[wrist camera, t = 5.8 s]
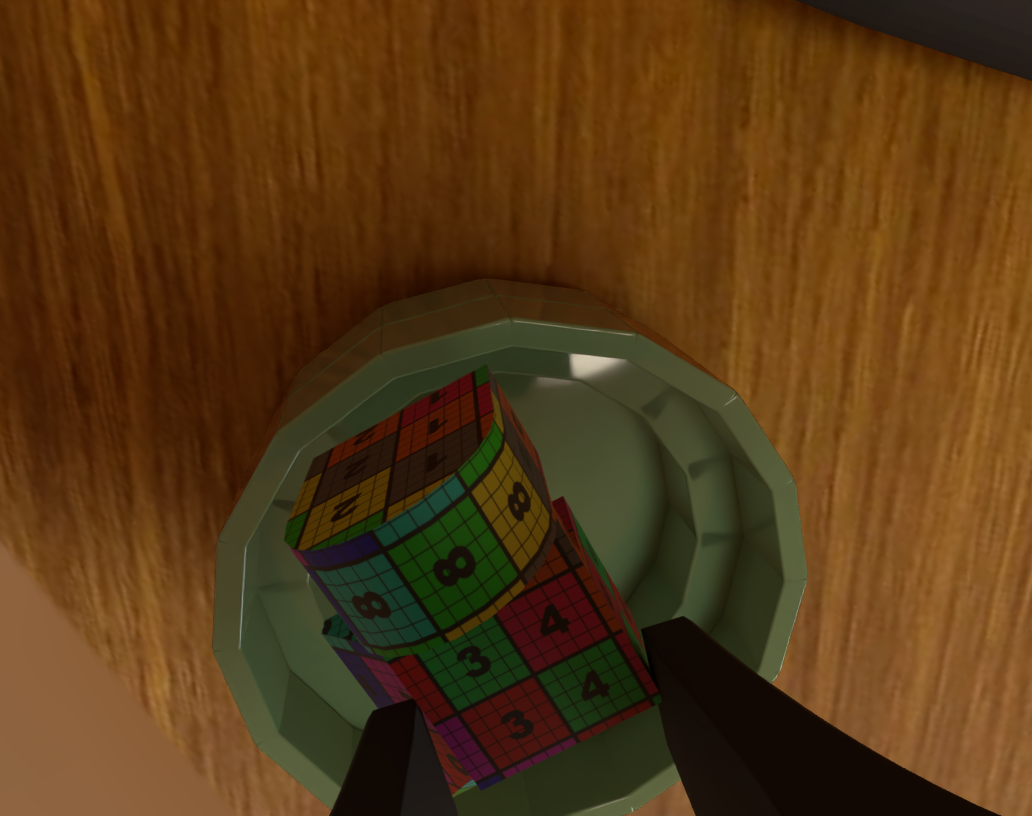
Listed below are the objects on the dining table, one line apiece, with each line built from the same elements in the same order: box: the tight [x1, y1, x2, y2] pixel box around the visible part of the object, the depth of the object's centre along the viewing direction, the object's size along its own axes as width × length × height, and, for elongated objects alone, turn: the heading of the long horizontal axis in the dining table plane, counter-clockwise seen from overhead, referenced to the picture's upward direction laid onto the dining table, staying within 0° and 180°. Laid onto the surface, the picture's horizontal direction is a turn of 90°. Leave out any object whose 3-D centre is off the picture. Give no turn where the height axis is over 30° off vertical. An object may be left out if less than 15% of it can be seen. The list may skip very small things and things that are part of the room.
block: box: [284, 364, 662, 797], centre depth 11 cm, size 6×4×3 cm
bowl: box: [212, 278, 808, 816], centre depth 17 cm, size 11×11×4 cm
